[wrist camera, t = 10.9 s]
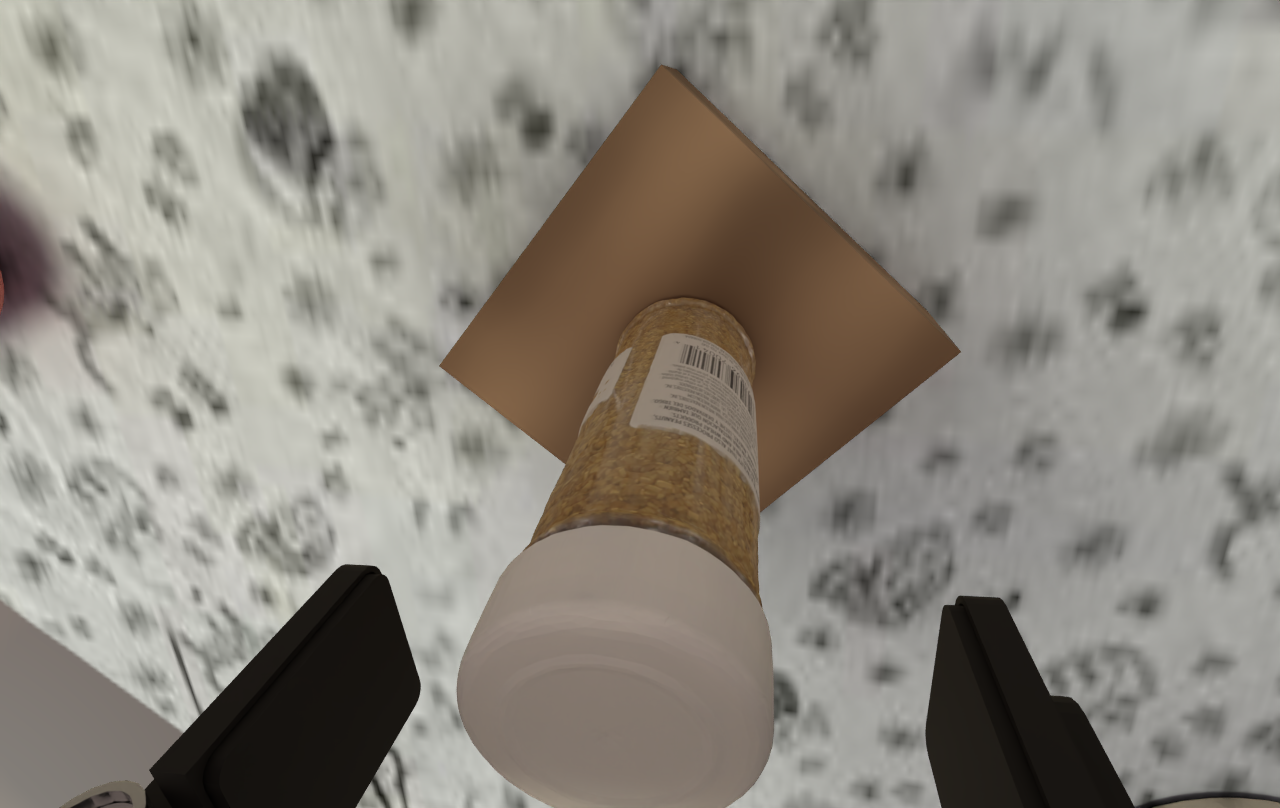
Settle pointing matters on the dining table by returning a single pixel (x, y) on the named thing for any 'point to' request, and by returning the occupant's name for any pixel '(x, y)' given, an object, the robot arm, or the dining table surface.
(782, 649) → the dining table surface
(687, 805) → the sprinkles bottle
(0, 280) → the decorative fruit
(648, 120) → the walnut stand
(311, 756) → the robot arm
